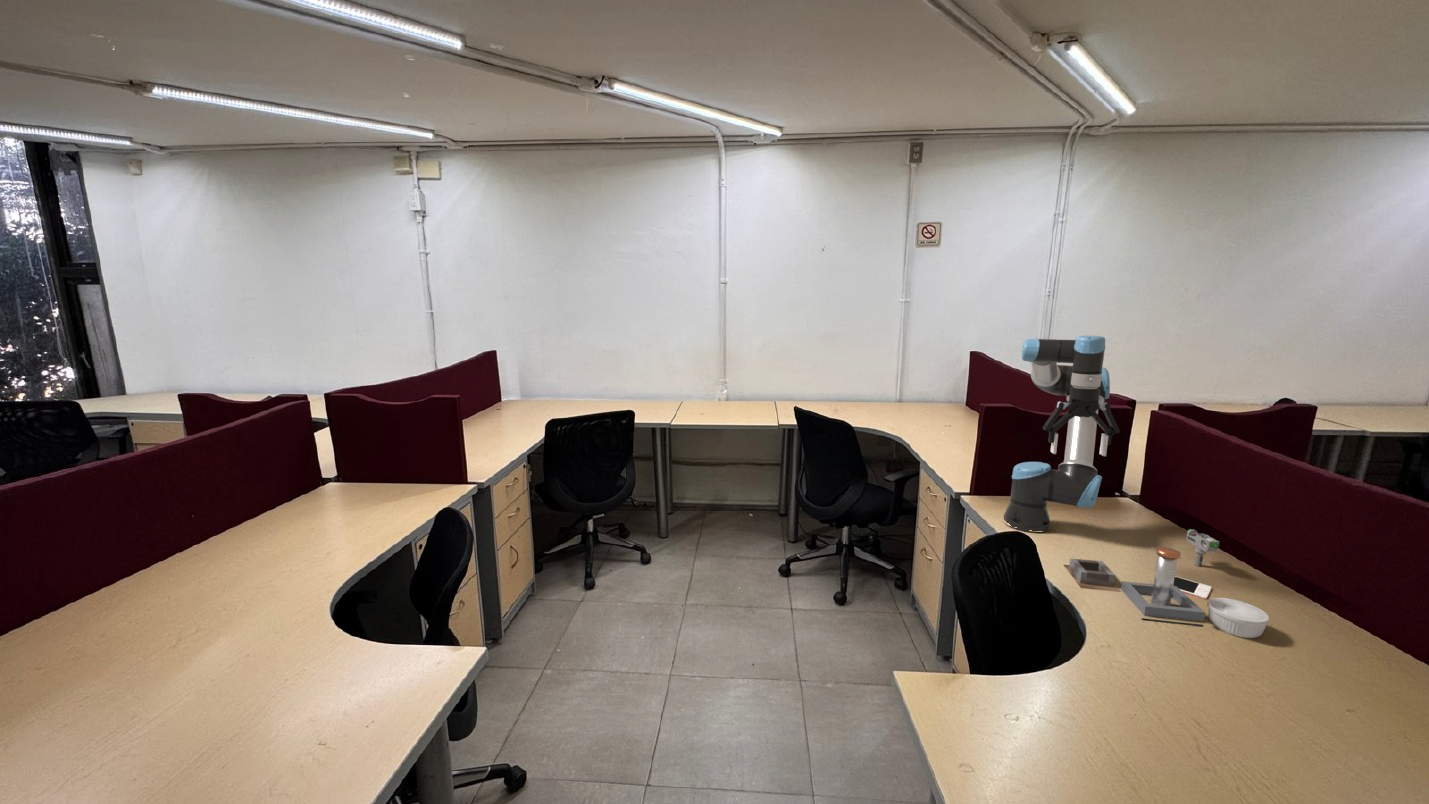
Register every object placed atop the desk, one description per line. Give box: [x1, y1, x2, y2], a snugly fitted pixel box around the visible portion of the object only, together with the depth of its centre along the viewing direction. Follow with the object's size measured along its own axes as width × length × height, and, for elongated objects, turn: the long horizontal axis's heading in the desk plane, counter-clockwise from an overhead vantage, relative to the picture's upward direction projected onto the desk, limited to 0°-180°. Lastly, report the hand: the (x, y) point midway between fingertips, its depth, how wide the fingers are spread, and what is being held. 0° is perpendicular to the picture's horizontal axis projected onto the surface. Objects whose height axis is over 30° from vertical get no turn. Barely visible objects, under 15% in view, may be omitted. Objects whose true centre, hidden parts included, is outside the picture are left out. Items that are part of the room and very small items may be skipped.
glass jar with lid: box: [1150, 546, 1182, 606], centre depth 144 cm, size 5×5×16 cm
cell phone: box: [1173, 575, 1213, 600], centre depth 159 cm, size 9×18×1 cm, turn 40°
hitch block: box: [1063, 558, 1122, 593], centre depth 159 cm, size 14×10×5 cm
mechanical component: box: [1186, 528, 1220, 567], centre depth 167 cm, size 3×10×10 cm, turn 174°
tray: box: [1120, 581, 1206, 628], centre depth 145 cm, size 13×13×4 cm
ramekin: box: [1206, 597, 1270, 639], centre depth 137 cm, size 11×11×5 cm
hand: (1077, 454), depth 169 cm, fingers open, 13 cm apart
